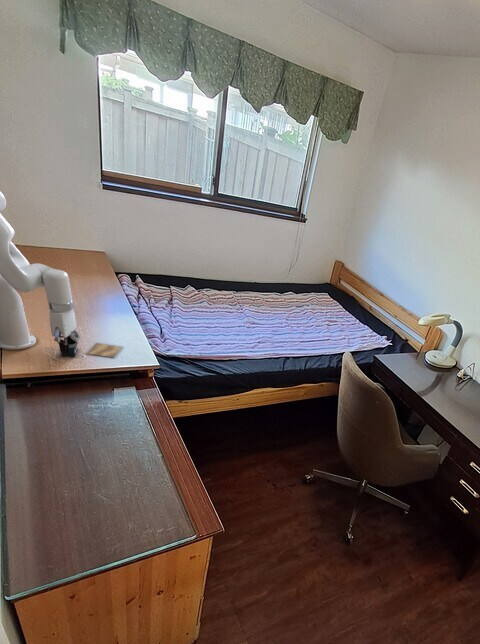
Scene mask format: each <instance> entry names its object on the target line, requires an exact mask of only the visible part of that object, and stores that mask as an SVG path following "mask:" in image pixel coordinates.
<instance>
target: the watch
mask: <svg viewBox="0 0 480 644" xmlns="http://www.w3.org/2000/svg"><path fill="white" fill-rule="evenodd" d="M69 336H70V337H71V338H72V339H73V340H74V341H76V343H75V344H69V349H70V353H63V352H60V353H61V357H62V358H76V357H77V353H78V351H79V349H78V344H79V342H80V340H81V336H80V334H79V333H78V331H77V330H76V329H75V330H74V331H73V332H71V334H70V335H69Z"/></svg>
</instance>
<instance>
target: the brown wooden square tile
mask: <svg viewBox="0 0 480 644" xmlns="http://www.w3.org/2000/svg"><path fill="white" fill-rule="evenodd" d="M121 349H122V346H118V345H111V344H104V343H98V342H97V343H96V344H94V346H93V347H92V348H91V349H90V350H89V351H88V353H87V355H92V356H98V357H105V358H112V359H114V358H115V357H116V355H117V354H118V353H119V351H120V350H121Z"/></svg>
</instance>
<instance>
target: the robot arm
mask: <svg viewBox="0 0 480 644" xmlns="http://www.w3.org/2000/svg"><path fill="white" fill-rule="evenodd" d="M6 207H7V199H6V198H5V195H4V194H3V192H2V191H1V190H0V349H4V350H10V351H11V350H12V351H13V350H14V351H16V350H24V349H28V348H31V347H32V346H34V345H35V344H36V343H37V337H36V336H35V335H34V334H31V332H30V329H29V325H28V321H27V315H26V313H25V307H24V304H23V299H22V297H21V295H20V294H19V293H18V292H20V293H30V292H33V291H35V290H38V289H39V288H44V290H45V295H46V300H47V306H48V310H49V327H50V333H51V336H52V337H54V339H53V341H54V342H56V343H57V344H58V347H59V351H60V353H61V352H63V353H70V349H69V344H75V343H76V341H74V340H73V339H72V338H71V337H70V336H69V335H70V334H71V332H73V331H74V330H76V329H77V320H76V314H75V311H74V302H73V297H72V290H71V289H72V288H71V284H70V283H71V282H70V278H69V274H68V273H67V272H66V271H64V270H62V269H57V268H56V269H55V268H52V267H50V266H47V265H45V264H44V263H43V264H42V263H40V262H39V263H38V262H37V263H36V262H35V263H31V264H30V262H29V261H28V259H27V258H26V257H25V256H24V255H23V253H21V251H20V250H19V248H17V247H16V245H15V244H14V242H12V239H14V237H15V235H16V232H15V229H14V228H13V227H12V225H11V224H10V223H9V222H8V220H7V219H6V218H5V217H4V215H2V214H1V211H4V210H5V209H6ZM17 291H18V292H17Z"/></svg>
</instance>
